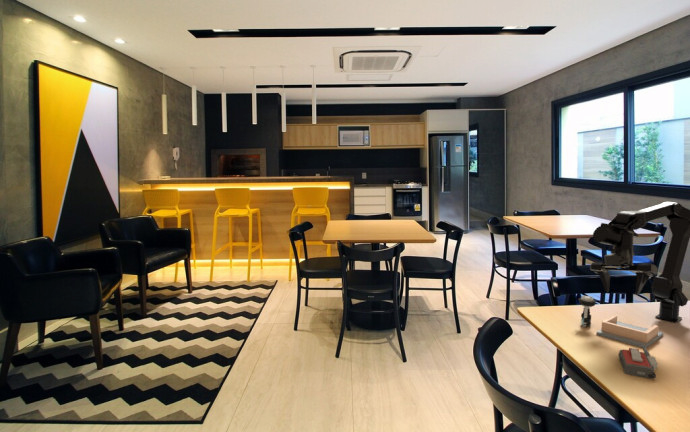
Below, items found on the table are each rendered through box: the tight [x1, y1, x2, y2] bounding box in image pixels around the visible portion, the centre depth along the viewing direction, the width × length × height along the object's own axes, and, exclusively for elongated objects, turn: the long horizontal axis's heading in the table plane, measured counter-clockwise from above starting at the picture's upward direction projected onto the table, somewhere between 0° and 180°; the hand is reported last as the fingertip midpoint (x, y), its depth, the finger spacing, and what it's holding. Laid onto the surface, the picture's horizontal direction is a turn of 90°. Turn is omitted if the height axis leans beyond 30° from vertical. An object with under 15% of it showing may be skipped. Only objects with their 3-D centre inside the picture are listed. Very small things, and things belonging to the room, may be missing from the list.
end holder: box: [595, 314, 664, 349], centre depth 140 cm, size 16×14×4 cm
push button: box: [578, 295, 597, 328], centre depth 149 cm, size 7×5×10 cm
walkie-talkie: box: [618, 347, 658, 379], centre depth 121 cm, size 9×4×20 cm
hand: (621, 293), depth 143 cm, fingers open, 9 cm apart
